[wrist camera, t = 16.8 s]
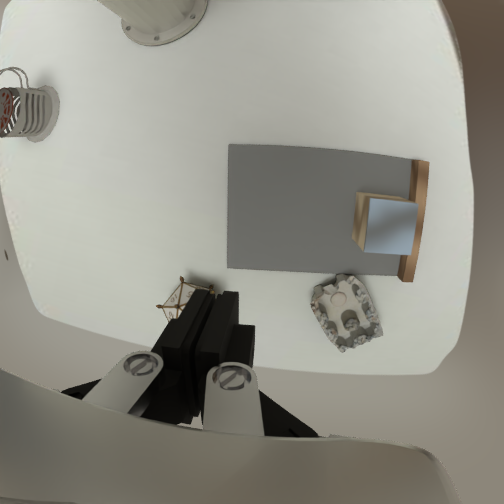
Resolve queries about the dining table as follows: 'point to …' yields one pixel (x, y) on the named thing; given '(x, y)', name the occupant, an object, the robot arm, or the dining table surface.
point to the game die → (180, 299)
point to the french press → (28, 110)
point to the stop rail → (418, 196)
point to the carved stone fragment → (346, 312)
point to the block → (384, 223)
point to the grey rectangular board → (306, 208)
